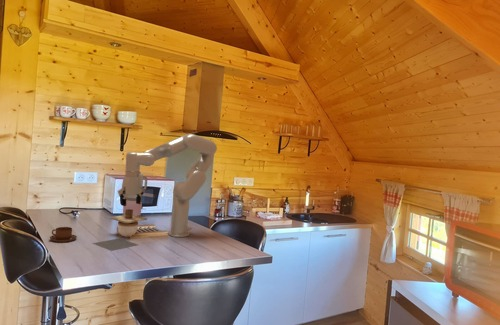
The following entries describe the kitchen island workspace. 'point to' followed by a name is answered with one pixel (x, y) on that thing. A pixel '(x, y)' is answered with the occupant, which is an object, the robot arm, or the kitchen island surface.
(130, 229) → the lidded jar
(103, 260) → the kitchen island surface
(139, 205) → the blender
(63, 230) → the cup and saucer
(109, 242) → the rubber mat
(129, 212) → the birch lid
